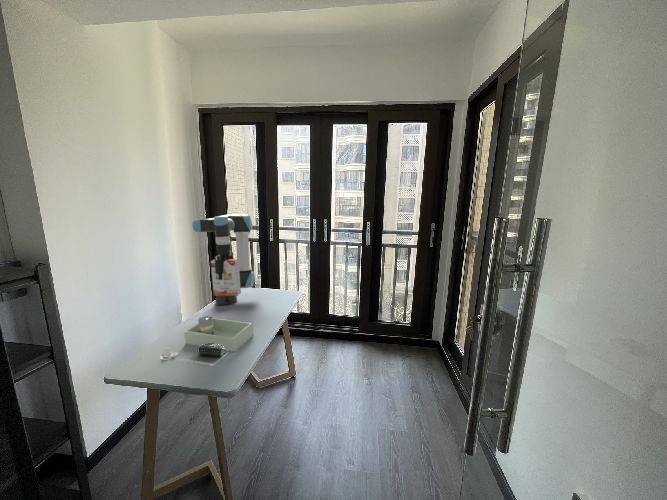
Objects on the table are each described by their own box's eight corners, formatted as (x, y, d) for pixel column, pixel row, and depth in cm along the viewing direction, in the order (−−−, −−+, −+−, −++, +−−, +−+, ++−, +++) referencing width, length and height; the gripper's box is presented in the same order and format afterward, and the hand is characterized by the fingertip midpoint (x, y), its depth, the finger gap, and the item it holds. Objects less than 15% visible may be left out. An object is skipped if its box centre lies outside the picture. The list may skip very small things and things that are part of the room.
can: (206, 333, 157) (204, 315, 155) (217, 334, 155) (215, 316, 153) (197, 339, 150) (195, 320, 148) (208, 341, 148) (206, 322, 146)
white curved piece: (180, 356, 136) (179, 349, 135) (162, 363, 131) (161, 355, 130) (176, 349, 142) (175, 342, 142) (158, 355, 137) (157, 348, 136)
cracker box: (213, 296, 158) (210, 260, 154) (218, 293, 163) (214, 258, 160) (237, 296, 157) (234, 260, 153) (241, 293, 163) (238, 258, 159)
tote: (209, 329, 163) (207, 317, 161) (253, 335, 155) (252, 323, 153) (185, 344, 146) (184, 331, 145) (234, 352, 138) (232, 338, 137)
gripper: (228, 241, 165) (231, 278, 169) (205, 246, 147) (209, 287, 151) (239, 241, 163) (242, 278, 167) (216, 246, 145) (220, 288, 149)
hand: (226, 283), depth 159 cm, fingers closed on cracker box, 7 cm apart
